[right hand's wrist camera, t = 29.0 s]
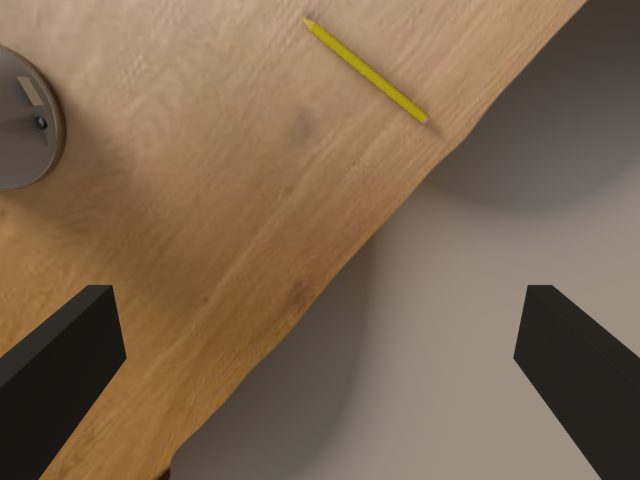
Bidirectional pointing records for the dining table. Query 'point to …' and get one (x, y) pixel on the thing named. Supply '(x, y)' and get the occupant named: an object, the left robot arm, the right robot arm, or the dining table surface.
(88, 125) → the dining table surface
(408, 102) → the pencil
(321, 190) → the dining table surface
